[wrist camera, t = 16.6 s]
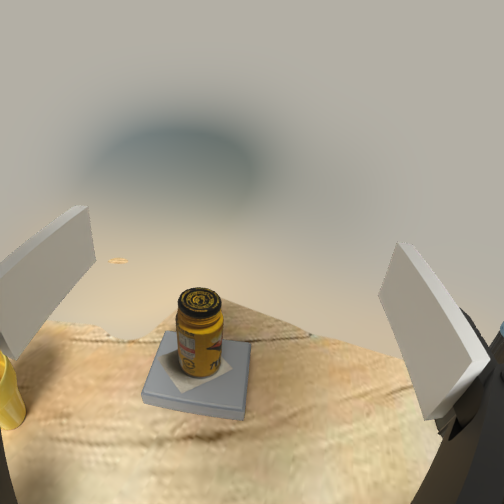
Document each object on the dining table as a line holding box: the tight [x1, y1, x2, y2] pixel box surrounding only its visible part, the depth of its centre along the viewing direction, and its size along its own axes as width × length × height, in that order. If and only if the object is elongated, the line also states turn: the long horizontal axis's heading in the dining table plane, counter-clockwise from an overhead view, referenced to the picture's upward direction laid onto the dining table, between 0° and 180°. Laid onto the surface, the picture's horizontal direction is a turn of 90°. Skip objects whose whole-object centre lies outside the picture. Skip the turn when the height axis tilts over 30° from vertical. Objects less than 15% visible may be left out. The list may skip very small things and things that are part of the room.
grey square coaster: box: [141, 331, 251, 421], centre depth 41 cm, size 14×13×3 cm
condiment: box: [157, 287, 233, 393], centre depth 38 cm, size 7×8×12 cm
